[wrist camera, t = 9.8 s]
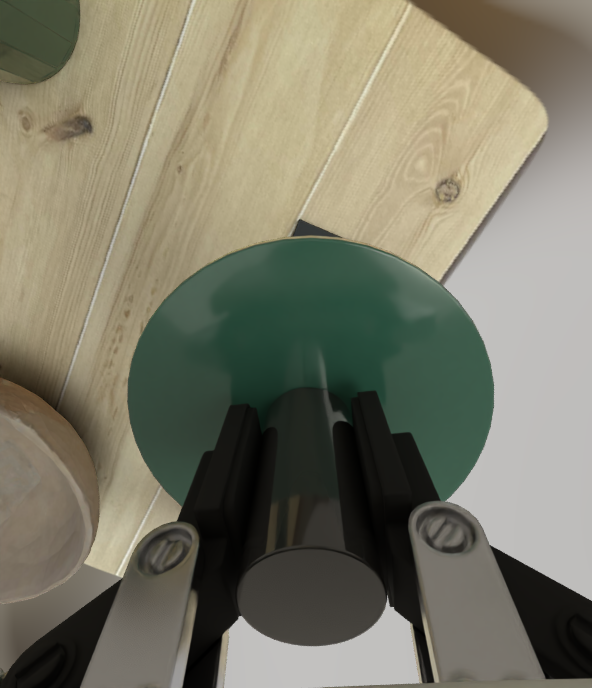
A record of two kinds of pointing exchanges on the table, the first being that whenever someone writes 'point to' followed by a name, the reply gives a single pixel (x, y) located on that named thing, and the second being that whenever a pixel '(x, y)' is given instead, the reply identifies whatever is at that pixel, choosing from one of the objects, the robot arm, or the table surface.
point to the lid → (310, 410)
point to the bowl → (42, 496)
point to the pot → (36, 38)
